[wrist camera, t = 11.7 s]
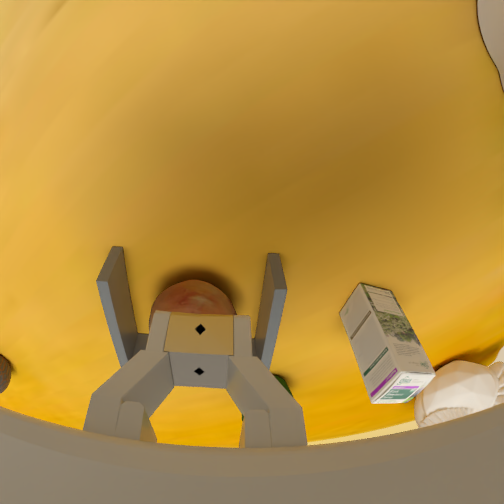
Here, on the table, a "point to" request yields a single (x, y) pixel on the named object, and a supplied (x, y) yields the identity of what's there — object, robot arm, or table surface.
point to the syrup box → (385, 346)
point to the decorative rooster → (459, 392)
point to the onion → (193, 299)
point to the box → (131, 342)
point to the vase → (4, 374)
